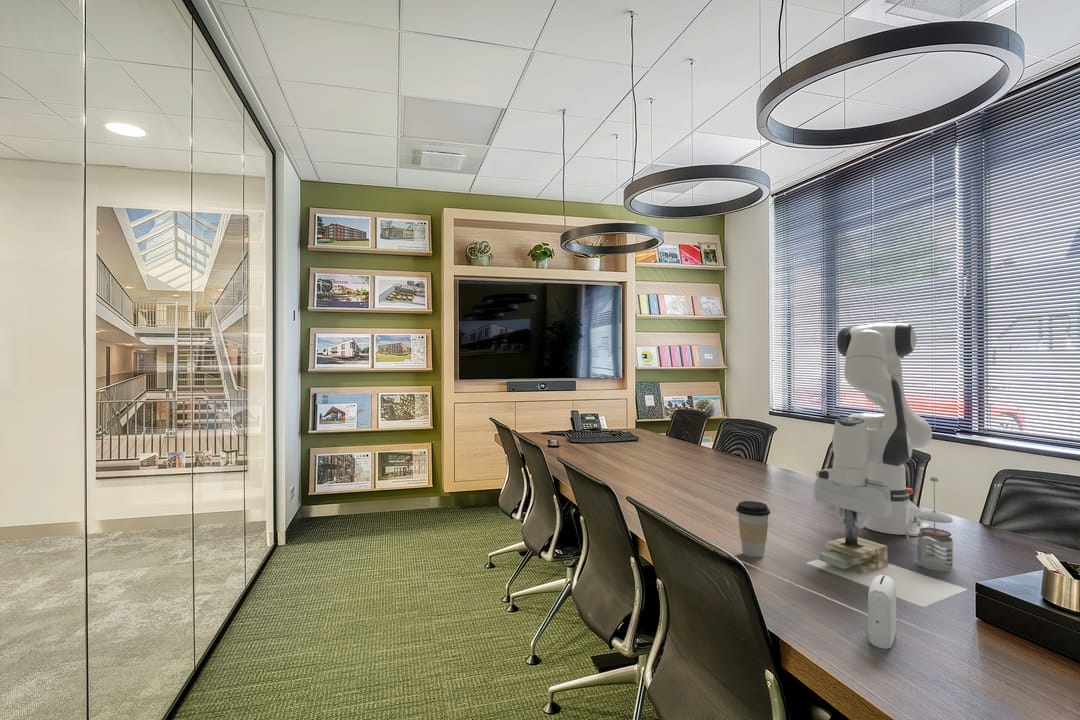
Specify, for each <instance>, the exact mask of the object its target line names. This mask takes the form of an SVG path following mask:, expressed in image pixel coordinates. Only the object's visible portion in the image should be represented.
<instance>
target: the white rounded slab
mask: <svg viewBox="0 0 1080 720" xmlns="http://www.w3.org/2000/svg"><path fill="white" fill-rule="evenodd" d="M867 599H868V606H867V607H868V640H869V643H871V645H872V646H874V647H875V648H879V649H884V650H888V649H891V648H892V646H893V644H894V641H895V637H896V633H897V597H896V585H895V583H894V581H893V580H892V579H891V578H890V577H888V576H883V575H878V576H876V577H875V578H874V579H873V580H872V582H871V584H870V587H869V588H868V598H867Z"/></svg>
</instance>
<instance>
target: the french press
mask: <svg viewBox="0 0 1080 720" xmlns="http://www.w3.org/2000/svg"><path fill="white" fill-rule="evenodd" d="M929 480H930V481H931V482H933V510H927V511H926V510H925V511H921V513H919V514H917V516H918V518H920V519H922V520H924V521H927V522H933V523H934V524H933V527H930V528H927V527H925V528H920V529H919V530H920V532H922V533H919V534H918V536H917V544H915V543H913V542H912V541H911V539H910V535H909V529H910V527H911V526H912V525H913V524H914V523H917V525H918V523H919V525H918V526H920V522H918V521H917V520H913V521H917V522H914V523H912V524H911V525H910V527H909V529H908V535H907V528H908V526H909V524H910V523H911V522H913V521H911V522H910V523H908V525H907V527H906V535H905V536H906V538H907V540H908V542H909V543H911V544H912V545H913V546H914V547H916V548H917V551H916V553H917V559H915V563H917V564H918V565H919V566H921V567H924V568H926V569H930V570H934V571H939V572H952V571H955V570H956V569H957V568H956V567H955V565H954V551H953V550H954V547H953V543H954V542H953V538H951V536H952V533H951V532H949V531H948V530H945V529H940V528H937V527H936V523H941V524H943V523H944V524H947V523H948V524H949V523H953V521H954V519H953V518H952V517H951V516H950V515H948V514H946V513H943V512H940V511H936V503H935V501H936V499H935V498H936V496H935V494H936V491H935V489H936V488H935V482H938V483H939V478H938V477H936V476H931V477H930V478H929ZM924 537H929V538H924ZM930 538H931V539H930ZM942 548H943V549H942ZM943 553H944V554H943Z"/></svg>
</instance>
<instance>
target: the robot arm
mask: <svg viewBox="0 0 1080 720" xmlns="http://www.w3.org/2000/svg"><path fill="white" fill-rule="evenodd" d="M916 345H917V334H916V332H915V330H914V327H913V326H912V325H910V324H909V323H904V322H897V323H890V322H889V323H887V322H885V323H874V324H873V323H872V324H863V325H862V324H861V325H857V326H853V325H851V326H847V327H844V328H841V329H840V330H839V331H838V333H837V337H836V347H837V350H838V352H839V354H841V355H842V356H843V357H845V362H844V378H845V380H846V382H847V383H848V384H849V385H850V386H851V387H853V388H854V389H855V390H857V391H858V392H861V393H863V394H864V396H865V398H866V399H867V400H868V401H869V402H870V403H872V404H874V405H876V406H878V407H880V409H881V410H882V411H883V412H884V413H873V412H871V413H870V412H862V413H861V412H860V413H853V414H852V413H851V414H850V415H848V417H847V416H846V417H840V418H837V419H836V420H835V422H834V425H833V433H832V451H833V454H834V455H833V460H832V467H828V468H823V469H819V470H816V471H815V476H816V480H814V487H813V488H814V489H813V490H814V491H813V496H814V497H813V498H814V499H815V501H816V502H817V503H820V504H825V505H827V506H832V507H835V508H834V510H835V512H836V515H837V516H838V518H839V519H838V520H839V523H840V524H841V525H845V509H848V510H851V511H855V512H857V517H858V518H857V521H855V527H856V528H857V529H859V530H861V529H864V528H866V529H868V530H872V531H873V532H879V533H883V534H891V535H905V536H906V527H907V525H908V523H910V522H911V521H913V520H917V521H918V522H920V526H918V525H919V523H918V525H917V523H914V522H917V521H913V522H911V523H910V524H909V526H908V528H907V536H908V529H909V527H910V525H911V524H912V523H914V524H913V525H912V526H911V527H910V529H909V537H910V536H911V537H918V534H919V533H922V532H920V530H919V529H920V528H925V527H927V528H931V525H930V524H929V523H926V522H924V521H922V520H923V519H920V518H918V516H917V514H919V513H921V512H922V511H921V508H919V507H918V506H917V505H915V504H914V503H913V502H912V501H911V500H910V495H913V493H914V490H913V488H910V487H906V486H907V485H906V481H907V478H906V477H907V475H906V472H907V471H906V467H905V465H904V464H906V463H907V462H909V461H910V460H911V459H912V455H913V449H923V448H925V447H926V446H928V444H929V443H930V442H931V440H932V437H933V430H932V427H931V425H930V424H929V422H928V421H927V420H926V419H925V418H923V417H921V415H919V414H918V413H917V412H915V411H914V410H913V409H912V407H911V406H910V404H909V403H908V401H907V399H906V395H905V389H904V383H903V381H904V380H903V368H902V367H903V366H902V360H901V359H904V357H906V356H908V355H909V356H910V354H911V353H913V352H914V349H915V347H916Z"/></svg>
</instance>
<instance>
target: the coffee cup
mask: <svg viewBox="0 0 1080 720" xmlns="http://www.w3.org/2000/svg"><path fill="white" fill-rule="evenodd" d="M735 511H736V512H737V513H738V527H739V537H740V540H741V549H742V555H745V556H746V557H750V558H763V557H765V551H766V542H767V538H768V537H767V536H768V527H769V522H768V520H769V515H770V514H771V512H770V509H769V508H768V505H767V504H766V503H763V502H760V501H752V500H751V501H750V500H745V501H744V500H743V501H739V503H738V505H737V506H736V509H735Z"/></svg>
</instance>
